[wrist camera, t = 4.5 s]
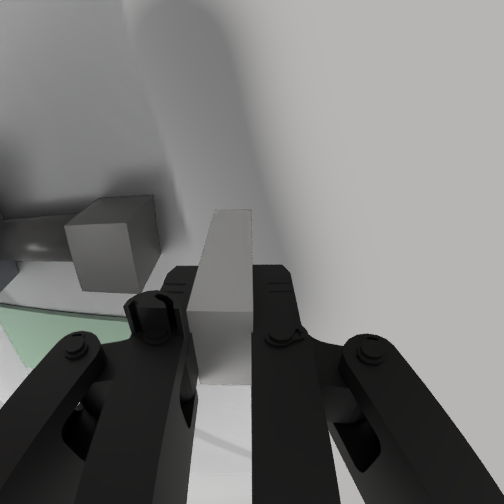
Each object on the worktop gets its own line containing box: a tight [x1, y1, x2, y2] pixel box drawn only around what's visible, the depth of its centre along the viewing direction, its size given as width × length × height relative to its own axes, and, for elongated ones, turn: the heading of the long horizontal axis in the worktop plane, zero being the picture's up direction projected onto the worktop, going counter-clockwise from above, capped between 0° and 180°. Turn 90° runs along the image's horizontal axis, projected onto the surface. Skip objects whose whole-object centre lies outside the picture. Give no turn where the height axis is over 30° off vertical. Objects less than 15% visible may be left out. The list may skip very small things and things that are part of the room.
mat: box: [0, 304, 132, 369], centre depth 19 cm, size 16×7×1 cm, turn 90°
